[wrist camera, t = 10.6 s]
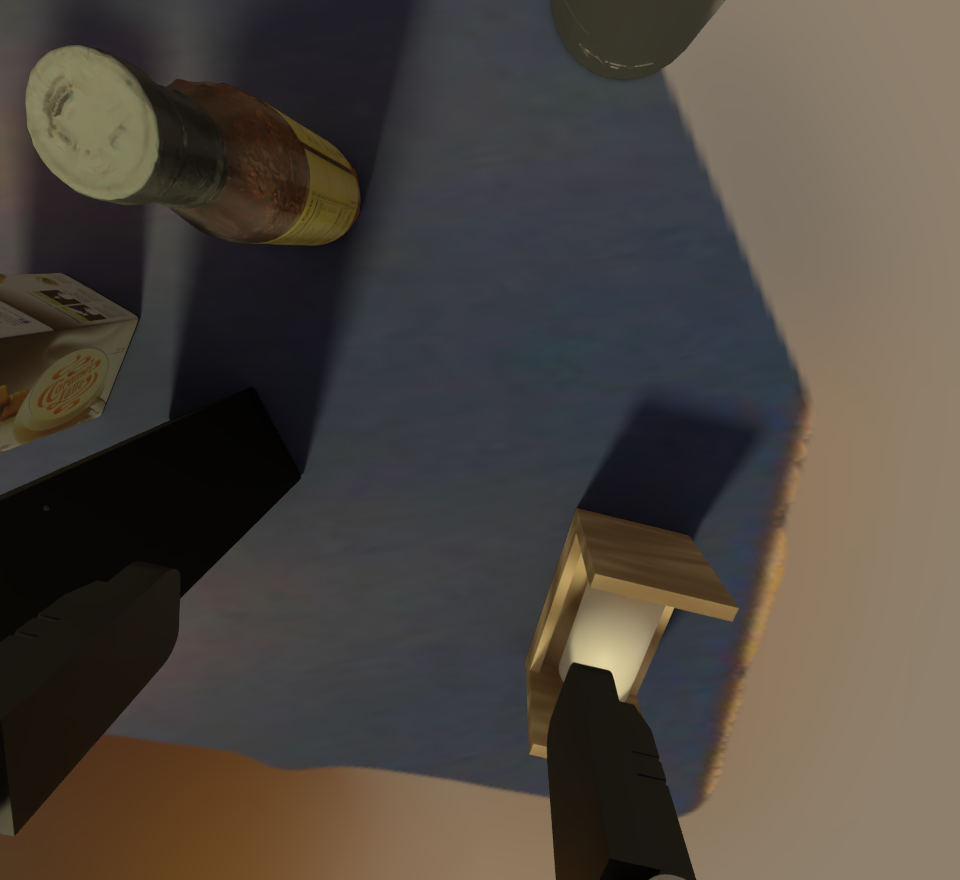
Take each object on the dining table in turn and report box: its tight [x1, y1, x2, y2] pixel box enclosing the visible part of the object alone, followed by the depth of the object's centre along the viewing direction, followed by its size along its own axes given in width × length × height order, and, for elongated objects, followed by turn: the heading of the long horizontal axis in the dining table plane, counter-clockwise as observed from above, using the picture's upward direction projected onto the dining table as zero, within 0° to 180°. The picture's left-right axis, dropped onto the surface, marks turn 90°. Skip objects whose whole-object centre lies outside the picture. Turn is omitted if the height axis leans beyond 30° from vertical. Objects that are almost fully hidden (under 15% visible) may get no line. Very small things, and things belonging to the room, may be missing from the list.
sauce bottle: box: [26, 45, 361, 246], centre depth 24 cm, size 6×6×20 cm
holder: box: [526, 508, 739, 758], centre depth 38 cm, size 15×9×9 cm, turn 167°
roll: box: [559, 581, 665, 702], centre depth 38 cm, size 10×6×6 cm, turn 167°
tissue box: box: [0, 387, 301, 642], centre depth 26 cm, size 8×8×28 cm
